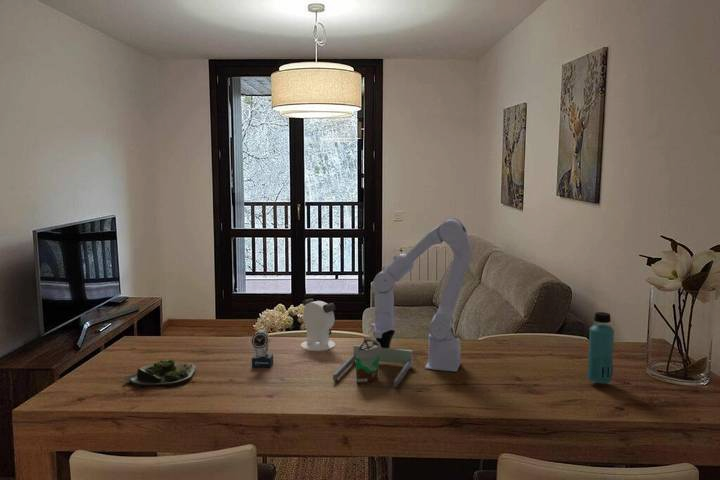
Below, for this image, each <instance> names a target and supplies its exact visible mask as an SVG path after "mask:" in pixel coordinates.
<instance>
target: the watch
mask: <svg viewBox="0 0 720 480" xmlns="http://www.w3.org/2000/svg"><path fill="white" fill-rule="evenodd" d="M268 332H269V331H268V329H258V330H257V331H256V332H255V333H254V335H253V336H252V338H251V344H252V347H253V351H254V354H253V355H252V357H251V368H252V369H271V368H272V367H273V364H274V353H268V351H269V343H271V340H270V339H269V333H268Z"/></svg>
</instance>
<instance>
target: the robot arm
mask: <svg viewBox="0 0 720 480" xmlns="http://www.w3.org/2000/svg"><path fill="white" fill-rule="evenodd" d="M443 242H444V243H445V244H447V245H448V246H449V247H450V249H451V251H452V252H453V254H454V257H453V261H452V264H451V267H450V270H449V273H448V277H447V279H446V284H445V287H444V288H443V292H442V295H441V299H440V302H439V306H438V308H437V311H436V313H434V315H433V316H432V318H431V322H430V323H429V325H428V332H429V334H428V356H427V357H428V360H427V363H426V365H425V367H424V369H426V370H435V371H445V372H454V373H455V372H458V370H459V368H460V365H461V363H462V361H461V359H462V358H461V349H462V348H461V347H462V344H461V343H462V342H461V339H460V338H457V337H454V334H453V333H452V332H451V330H452V327H453V314H454V310H455V307H456V304H457V300H458V298H459V296H460V295H459V294H460V292H461V289H462V285H463V282H464V279H465V276H466V273H467V270H468V266H469V262H470V261H471V257H472V254H473V249H472V245H471V241H470V239H469V236H468V231H467V228H466V227H465V226H464V224H463V222H462V221H461V220H459V219H458V218H455V217H449V218H447V219H445V220H444V221H443V222H442V223H440V224H438V225H437V226H436V227H433V229H431V230H430V231H428V233H426V234H425V236H424V237H422V239H420V240H419V241H418V242H417V243H416V244H415V245H414V246H413V247H412V248H411V249H410V250H408V252H407V253H401V252H400V253H399V254H395V255H394V256H393V257H392V259H393V260H391V262H389V263H388V264H387V265H386V266H383V267H382V268H381V271H380V272H378V273H376V275H375V277H374V279H373V281H372V285H373V288H374V323H373V322H371V325H370V327H371V328H374V332H373V337H374V339H375V340H376V341H378V342H379V343H380V345H381V347H382V348H391V343H392V339H393V337H394V335H395V332H396V331H395V323H394V322H395V321H394V320H395V317H394V315H395V313H394V312H395V311H394V310H395V306H394V305H395V298H394V297H395V296H394V286H395V284H396V283H398V282H400V281H401V279H403V278H404V277H405V276H406V275H407V274H408V273H409V272H410V271H412V270H413V269H414V265H415V264H414V262H415V261H416V260H417V259H418V258H419V257H421V255H424V253H425V252H426V251H428V250H429V249H430V248H431V247H432V246H434V245H440V244H442V243H443Z"/></svg>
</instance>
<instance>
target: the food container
mask: <svg viewBox="0 0 720 480" xmlns="http://www.w3.org/2000/svg"><path fill="white" fill-rule="evenodd" d="M381 352H382V350H381V345H380V343H379V342H378V341H377V340H376V339H372V338H367V337H364V338H363V343H362V344H360V348H359V350H356V354H355V358H356V360H355V370H356V371H355V374H356V385H360V386H361V385H369V384H370V385H371V384H373V383H375V382H377V381H378V379H379V378H378V377H379V365H380V364H379V363H380V362H379V354H381Z"/></svg>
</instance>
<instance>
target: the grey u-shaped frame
mask: <svg viewBox="0 0 720 480" xmlns="http://www.w3.org/2000/svg"><path fill="white" fill-rule="evenodd" d="M360 346H361V344H360V345H357V344H354V345H353V353H352V355H351V356H350V357H349V358H348V359H347V360H345V362H344V363H343V364H342V365H341V366H340V367H339V368H338V369H337V370H336V371H335V372H334V373H333V374H332V381H334V382H336V383H337V382H338V380H339V378H340V377H341V376H342V375H343V373H345V371H346V370H347V369H348V368H349V367H350V366H351V365H353V364H356V358H355V354H356V350H359V348H360ZM381 350H382V352H381V354H379V363H382V362H383V363H391V364H401V365H404V366H403V367H402V369H401V370H400V371H399V373H398V374H397V376H396V377H395V379H393V388H394V389H398V387H399V384H400V382H402V379H404V376H405V375H406V374H407V372H408V371H409V370H410V369H411V368H412V365H413V349H412V350H411V349H405V348H404V349H401V348H394V347H393V348H391V347H390V348H382V347H381Z"/></svg>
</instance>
